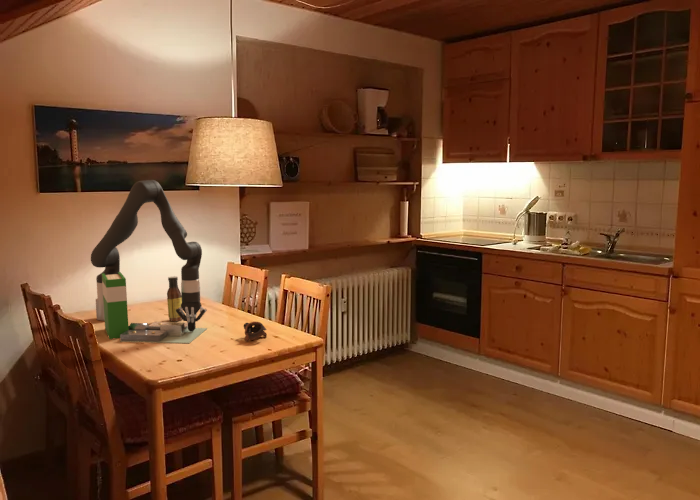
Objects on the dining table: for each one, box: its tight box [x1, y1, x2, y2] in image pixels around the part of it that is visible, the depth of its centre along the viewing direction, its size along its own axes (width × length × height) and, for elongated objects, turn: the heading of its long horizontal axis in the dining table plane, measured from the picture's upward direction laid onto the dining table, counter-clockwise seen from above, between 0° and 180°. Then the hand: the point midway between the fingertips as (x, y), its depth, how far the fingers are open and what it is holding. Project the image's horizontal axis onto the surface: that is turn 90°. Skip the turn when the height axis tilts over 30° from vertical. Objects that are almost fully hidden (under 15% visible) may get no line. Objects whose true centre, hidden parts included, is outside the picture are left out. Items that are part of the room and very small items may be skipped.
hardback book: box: [101, 271, 129, 340], centre depth 245 cm, size 18×7×24 cm, turn 27°
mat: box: [119, 327, 208, 344], centre depth 244 cm, size 28×22×1 cm
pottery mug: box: [243, 321, 268, 343], centre depth 238 cm, size 12×10×8 cm
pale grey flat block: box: [148, 321, 188, 336], centre depth 247 cm, size 16×12×4 cm
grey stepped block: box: [119, 322, 167, 342], centre depth 240 cm, size 18×12×5 cm
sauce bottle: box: [166, 275, 183, 322], centre depth 267 cm, size 7×6×20 cm
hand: (191, 330), depth 248 cm, fingers closed
